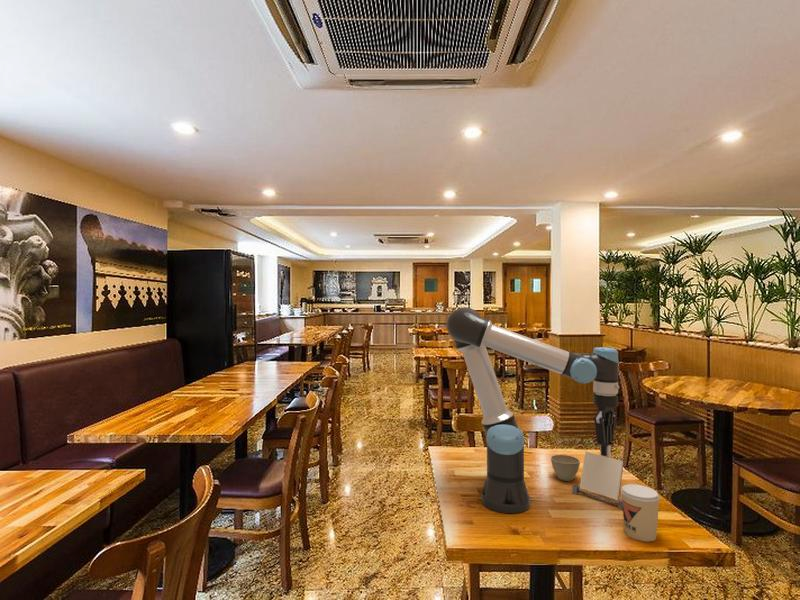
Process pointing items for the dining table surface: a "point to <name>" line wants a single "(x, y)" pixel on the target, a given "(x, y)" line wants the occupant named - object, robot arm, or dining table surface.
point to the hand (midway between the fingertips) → (605, 464)
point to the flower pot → (565, 466)
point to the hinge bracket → (577, 490)
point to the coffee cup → (640, 511)
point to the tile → (602, 475)
